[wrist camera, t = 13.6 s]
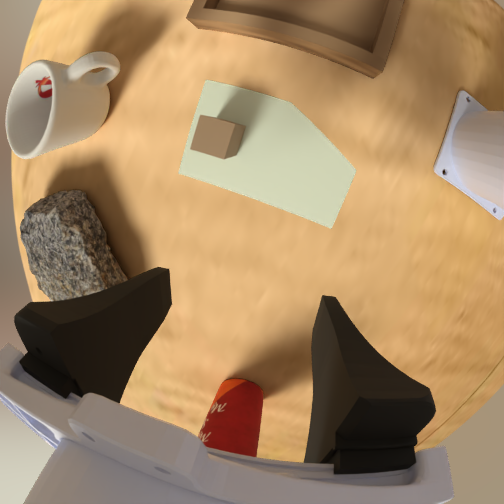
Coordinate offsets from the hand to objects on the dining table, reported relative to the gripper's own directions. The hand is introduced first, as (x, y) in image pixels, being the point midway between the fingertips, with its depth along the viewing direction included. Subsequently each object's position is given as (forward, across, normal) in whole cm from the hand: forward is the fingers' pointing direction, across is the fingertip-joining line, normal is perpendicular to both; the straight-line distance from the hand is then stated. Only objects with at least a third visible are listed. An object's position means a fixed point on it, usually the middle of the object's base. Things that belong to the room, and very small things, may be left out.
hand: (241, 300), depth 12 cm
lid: (+11, 0, -6) cm, 12 cm away
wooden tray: (+10, -1, -20) cm, 23 cm away
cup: (+11, +17, -11) cm, 22 cm away
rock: (+11, +20, +6) cm, 23 cm away
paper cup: (+11, +1, +22) cm, 24 cm away
